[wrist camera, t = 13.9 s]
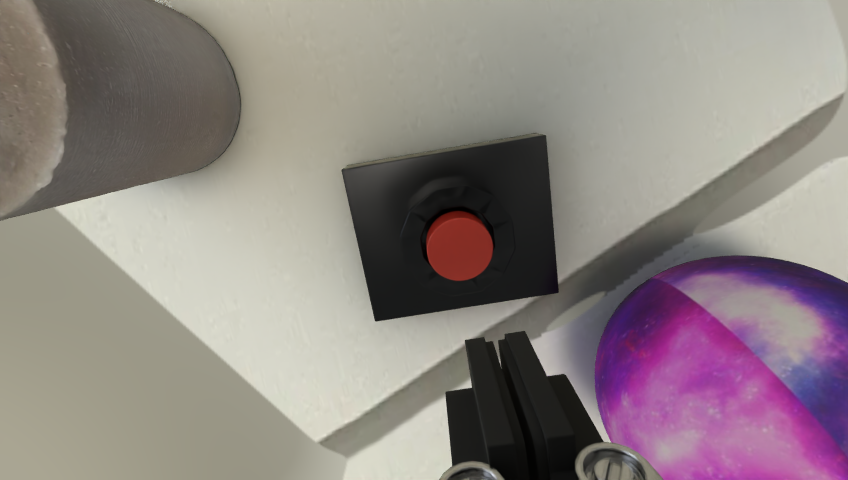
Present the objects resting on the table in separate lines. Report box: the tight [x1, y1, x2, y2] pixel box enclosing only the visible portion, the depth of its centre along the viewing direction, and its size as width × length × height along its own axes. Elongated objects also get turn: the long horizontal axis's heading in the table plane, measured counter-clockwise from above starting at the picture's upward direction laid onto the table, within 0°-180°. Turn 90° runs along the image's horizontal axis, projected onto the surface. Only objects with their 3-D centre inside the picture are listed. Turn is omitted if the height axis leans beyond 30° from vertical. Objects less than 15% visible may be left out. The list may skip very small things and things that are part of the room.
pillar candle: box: [0, 0, 240, 221], centre depth 18 cm, size 10×10×15 cm
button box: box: [342, 133, 559, 321], centre depth 26 cm, size 12×10×4 cm
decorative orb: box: [595, 256, 848, 480], centre depth 23 cm, size 15×15×15 cm
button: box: [426, 211, 493, 281], centre depth 24 cm, size 4×4×2 cm
